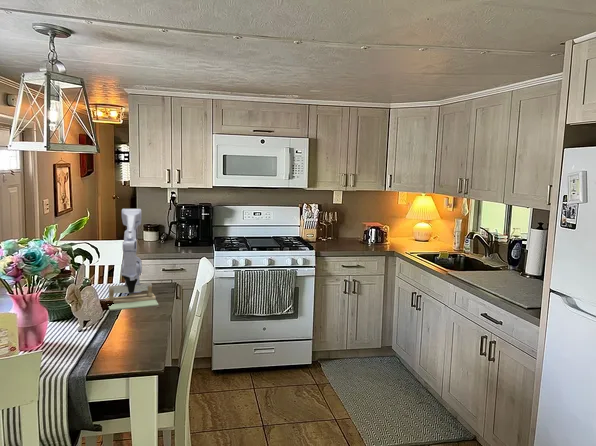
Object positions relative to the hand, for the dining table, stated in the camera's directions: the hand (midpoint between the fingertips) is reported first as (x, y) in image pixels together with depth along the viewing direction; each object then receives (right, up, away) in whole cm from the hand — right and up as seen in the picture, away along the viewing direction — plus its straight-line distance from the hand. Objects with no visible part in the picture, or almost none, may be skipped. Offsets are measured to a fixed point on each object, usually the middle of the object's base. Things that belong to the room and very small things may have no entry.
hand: (130, 291), depth 237 cm
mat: (+4, -6, -8) cm, 11 cm away
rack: (0, -4, +1) cm, 4 cm away
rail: (0, 0, 0) cm, 0 cm away
